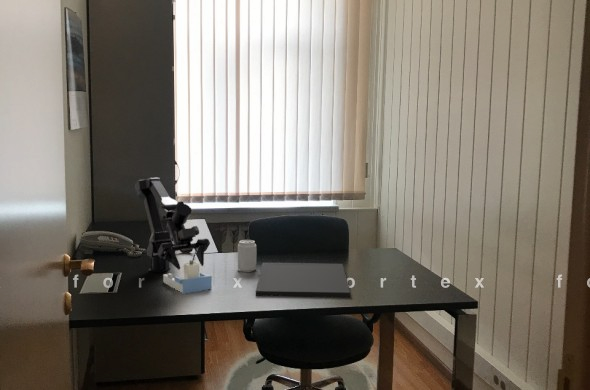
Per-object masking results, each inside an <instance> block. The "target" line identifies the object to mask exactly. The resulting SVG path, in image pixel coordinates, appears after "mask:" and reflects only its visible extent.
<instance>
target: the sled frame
mask: <svg viewBox="0 0 590 390" xmlns="http://www.w3.org/2000/svg"><path fill="white" fill-rule="evenodd" d="M162 277H163V283H164V284H166V285H168V286H169V287H171V288H172V287H173V288H172V289H174V288H175V289H174V290H175V291H177V290H178V291H177V292H179V291H180V292H179V293H181V292H182V293H181V294H182V295H185V294H184V293H187V294H191V293H190V292H193V293H197V291H198V292H203V291H202V290H204V291H209V290H208V289H210V290H212V288H213V287H212V286H213V285H212V283H213V282H212V280H213V279H212V275H210V274H209V275H208V274H206V273H204V272H199V277H195V278H189V279H184V278H183V279H182V278H181V277H179V276H173V274H172V273H170V272H169V273H167V274H166V273H165V274H163V275H162Z"/></svg>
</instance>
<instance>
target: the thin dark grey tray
mask: <svg viewBox="0 0 590 390" xmlns="http://www.w3.org/2000/svg"><path fill="white" fill-rule="evenodd" d="M345 271H346V270H345V268H344V265H343V263H319V262H318V263H316V262H315V263H311V262H310V263H309V262H308V263H305V262H262V264H261V268H260V272H259V276H258V280H257V284H256V289H255V297H280V298H281V297H287V298H288V297H291V298H292V297H293V298H294V297H295V298H298V297H299V298H343V299H344V298H346V299H347V298H351V291H350V286H349V283H348V279H347V277H346V272H345Z"/></svg>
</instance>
